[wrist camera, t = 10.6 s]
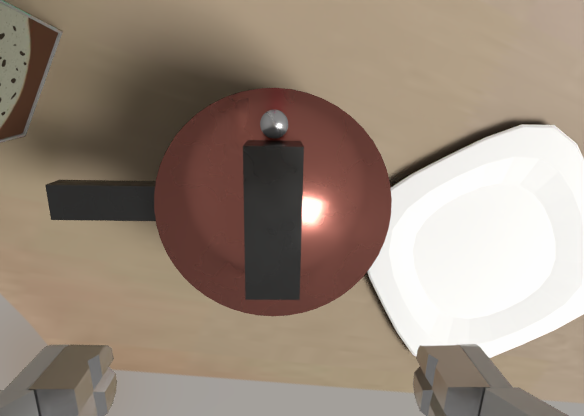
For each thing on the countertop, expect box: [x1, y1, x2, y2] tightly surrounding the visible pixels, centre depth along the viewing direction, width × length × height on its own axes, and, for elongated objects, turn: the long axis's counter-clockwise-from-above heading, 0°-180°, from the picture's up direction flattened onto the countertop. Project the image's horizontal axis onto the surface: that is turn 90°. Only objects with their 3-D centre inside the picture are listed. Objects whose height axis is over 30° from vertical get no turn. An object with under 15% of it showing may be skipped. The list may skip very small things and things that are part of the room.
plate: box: [367, 124, 584, 358], centre depth 36 cm, size 22×22×2 cm
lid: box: [154, 88, 392, 316], centre depth 23 cm, size 15×15×4 cm
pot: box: [46, 180, 156, 221], centre depth 29 cm, size 14×22×9 cm, turn 89°
